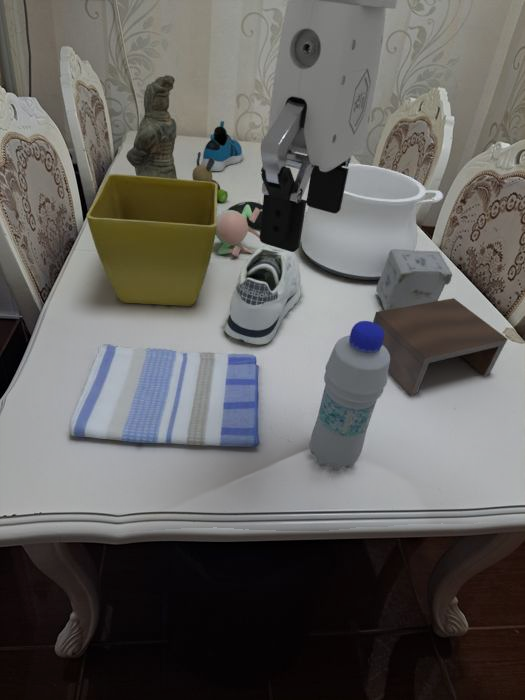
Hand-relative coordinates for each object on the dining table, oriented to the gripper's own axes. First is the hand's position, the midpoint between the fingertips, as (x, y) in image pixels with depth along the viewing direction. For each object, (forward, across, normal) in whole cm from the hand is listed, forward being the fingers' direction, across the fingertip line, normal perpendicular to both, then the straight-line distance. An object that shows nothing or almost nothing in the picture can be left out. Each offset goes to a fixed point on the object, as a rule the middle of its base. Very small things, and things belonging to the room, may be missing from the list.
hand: (302, 226), depth 42 cm
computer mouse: (+30, +63, +35) cm, 79 cm away
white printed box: (+30, +46, -7) cm, 56 cm away
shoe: (+30, +99, +63) cm, 121 cm away
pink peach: (+30, +48, +31) cm, 65 cm away
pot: (+30, +60, +8) cm, 68 cm away
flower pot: (+30, +26, +34) cm, 52 cm away
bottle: (+30, +5, -7) cm, 32 cm away
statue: (+30, +48, +52) cm, 77 cm away
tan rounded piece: (+30, +68, +51) cm, 90 cm away
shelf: (+30, +32, -14) cm, 46 cm away
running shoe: (+30, +32, +15) cm, 47 cm away
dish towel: (+30, +2, +15) cm, 34 cm away
